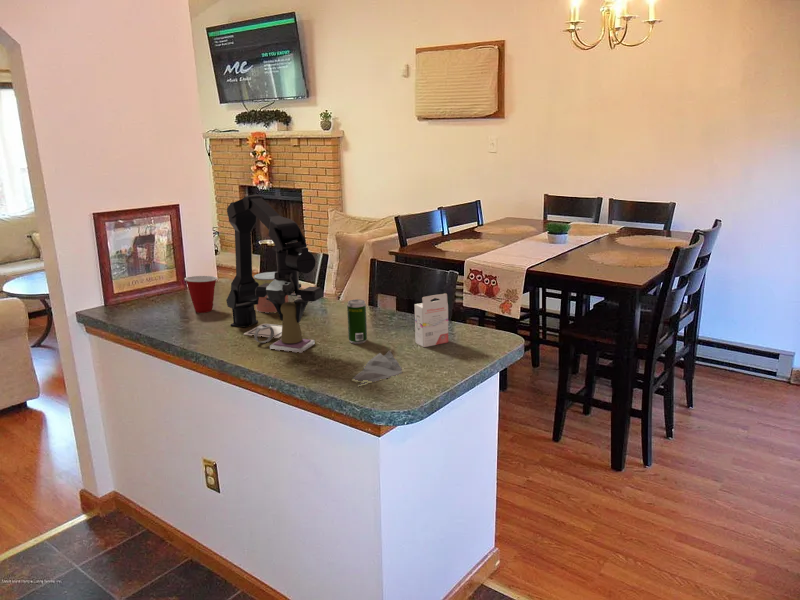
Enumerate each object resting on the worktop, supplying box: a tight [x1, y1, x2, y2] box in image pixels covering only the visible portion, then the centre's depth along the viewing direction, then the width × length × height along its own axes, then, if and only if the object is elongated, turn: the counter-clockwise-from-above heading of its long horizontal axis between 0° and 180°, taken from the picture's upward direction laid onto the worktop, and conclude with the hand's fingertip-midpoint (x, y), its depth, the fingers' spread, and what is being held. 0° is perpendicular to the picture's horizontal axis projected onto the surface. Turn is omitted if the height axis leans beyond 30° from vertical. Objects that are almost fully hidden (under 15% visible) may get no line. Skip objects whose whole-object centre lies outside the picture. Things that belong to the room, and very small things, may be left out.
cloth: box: [352, 350, 403, 385], centre depth 161 cm, size 26×14×2 cm, turn 151°
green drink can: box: [346, 298, 368, 345], centre depth 181 cm, size 5×5×12 cm
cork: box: [280, 301, 304, 343], centre depth 177 cm, size 6×6×11 cm
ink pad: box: [269, 338, 316, 354], centre depth 179 cm, size 10×8×2 cm
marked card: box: [243, 323, 282, 339], centre depth 194 cm, size 12×11×1 cm
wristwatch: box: [253, 323, 274, 344], centre depth 183 cm, size 6×3×5 cm, turn 137°
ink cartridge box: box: [414, 292, 449, 348], centre depth 179 cm, size 9×5×15 cm, turn 118°
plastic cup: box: [184, 275, 218, 314], centre depth 217 cm, size 11×11×12 cm
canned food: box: [253, 271, 290, 314], centre depth 218 cm, size 11×11×12 cm
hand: (290, 321), depth 177 cm, fingers closed on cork, 5 cm apart
